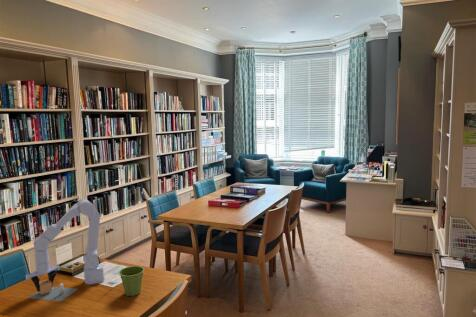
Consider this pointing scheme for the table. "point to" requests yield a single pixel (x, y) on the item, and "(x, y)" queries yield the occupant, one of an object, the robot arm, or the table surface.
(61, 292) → the board
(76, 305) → the table surface
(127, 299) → the table surface
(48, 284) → the collar
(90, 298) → the table surface
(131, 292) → the plant pot
